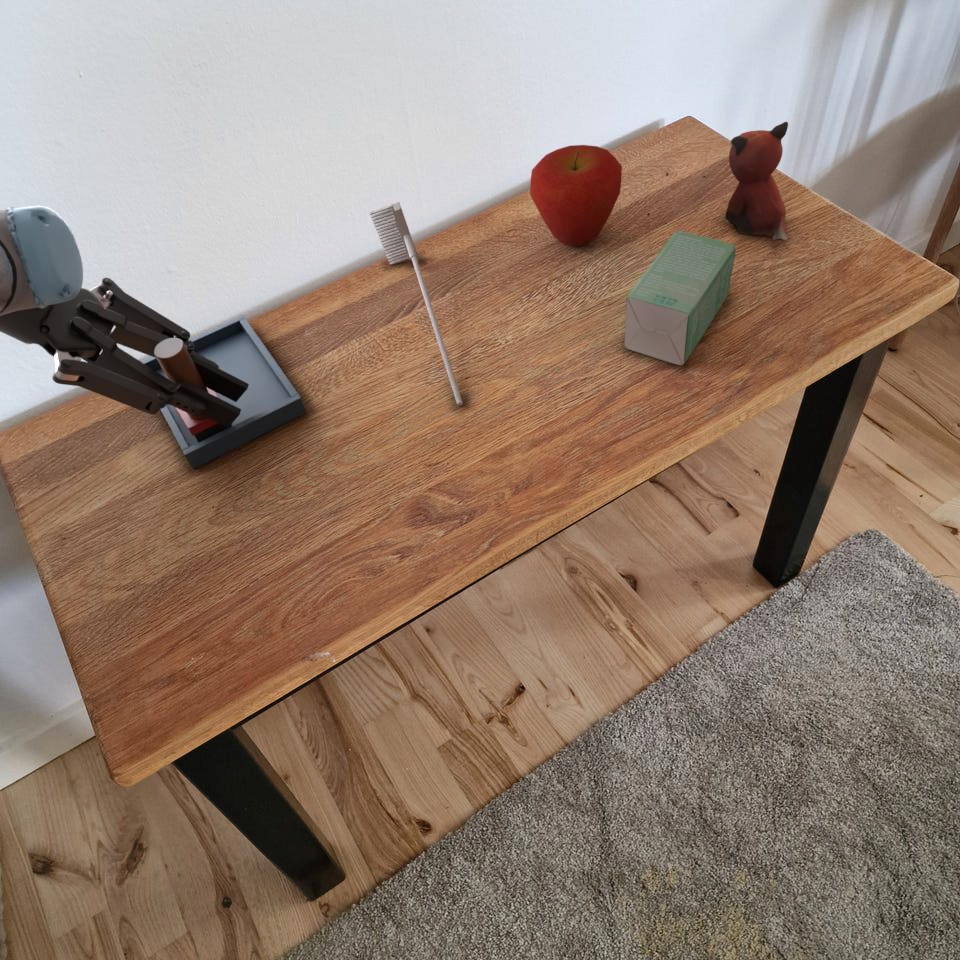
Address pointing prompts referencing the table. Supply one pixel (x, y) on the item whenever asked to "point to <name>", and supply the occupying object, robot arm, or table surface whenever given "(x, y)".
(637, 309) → the box
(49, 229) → the robot arm
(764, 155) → the stuffed fox
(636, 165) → the table surface
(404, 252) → the brush
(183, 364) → the brown cylinder on base
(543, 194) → the apple
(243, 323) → the tray
